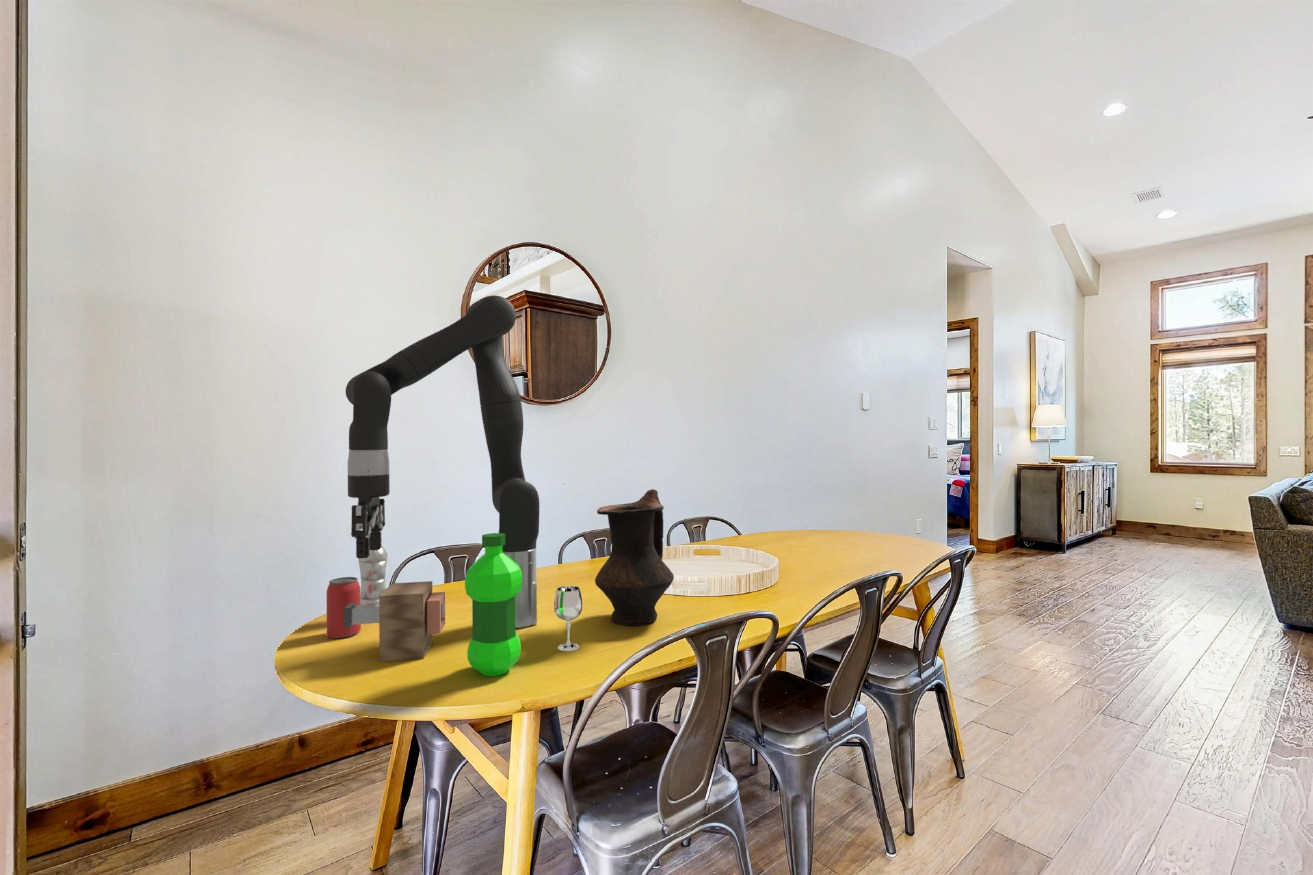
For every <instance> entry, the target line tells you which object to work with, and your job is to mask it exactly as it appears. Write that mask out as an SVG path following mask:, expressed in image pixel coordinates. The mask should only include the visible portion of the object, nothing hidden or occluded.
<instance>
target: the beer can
mask: <svg viewBox="0 0 1313 875" xmlns="http://www.w3.org/2000/svg"><path fill="white" fill-rule="evenodd" d="M358 580H359V578H358V577H355V576H347V577H346V576H345V577H343V576H342V577H337V578H333V579H330V580H329V584H328V585H327V588H326V635H327V637H329V638H330V639H331V638H332V639H346V638H349V637H352V636H353V637H354V636H356V635H358V634H359V633H360V631H361V629H362V628H361V625H362V624H354V625H352V626H351V627H348V628H344V608H345V607H346V606H347V605H348V604H349V603H356V605H360V594H361V584H360V583H359V581H358Z"/></svg>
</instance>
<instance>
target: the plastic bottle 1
mask: <svg viewBox="0 0 1313 875" xmlns="http://www.w3.org/2000/svg"><path fill="white" fill-rule="evenodd" d="M382 539H383V538H381V542H382V541H383V540H382ZM357 560H358V566H359V572H360V574H359V575H360V605H366V604H379V596H380V595H381V594H382V593H383V592H384V591H385V590H386V589H387V588H386V570H387V563H388V552H387V550H386V549H385V547H384V546H383V544H381V549H380V550H370V556H369V557H368V558H357Z"/></svg>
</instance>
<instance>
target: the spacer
mask: <svg viewBox="0 0 1313 875" xmlns="http://www.w3.org/2000/svg"><path fill="white" fill-rule="evenodd" d="M443 600H445V601H446V592H445V591H438V592H432V595H431V596H430V598H429V599H428V601H427V634H433V635H440V634H441V633H442V631H443V628H444V626H445V625H446V614H445V615H444V617H443V619H441V604H442V602H443Z"/></svg>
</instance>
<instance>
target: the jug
mask: <svg viewBox="0 0 1313 875" xmlns="http://www.w3.org/2000/svg"><path fill="white" fill-rule="evenodd" d="M663 510H665V507H664V505H662V504H661V501H660V499H659V492H658V491H657V489H654V488H653V489H648V490H647V491H646V492H645V493H644V495H642V497H641V498H639V499H638V501H634V502H628V503H622V504H610V505H605V506H601V507H599V508H598V509H597V510H596V513H597V515H603V516H607V521H608V526H609V532H610V543H611V551H610V554H609V557H608V559H607V560H606V561H605V562H604V564H603V565H602V567H601V568H600V570H599V571H598V573H597V575H596V576H595V578H594V582H595V586H596V587H597V588H598V589H600V590H601V592H602V593H603V594H604V595H605V596H606V597H607V599H608V600H609V602H610V604H611V605H612V606H613V611H612V613H611V615H610V619H611V620H610V621H611V622H612V623H615V624H618V625H631V626H634V625H643V624H648V623H652V622H655V621H657V618H658V613H657V611H656V605H657V603H658V601H659V600H660V599H661V598H662V596H663V595H664V593H665V592H666V590H669V588H670V586H671V585H672V583H673V581H674V579H675V576H674V574H673V572H672V571H671V569H670V568H669V567H668V566H667V564H666V563H665V562H664V561H663V556H664V541H663V539H664V511H663Z"/></svg>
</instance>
